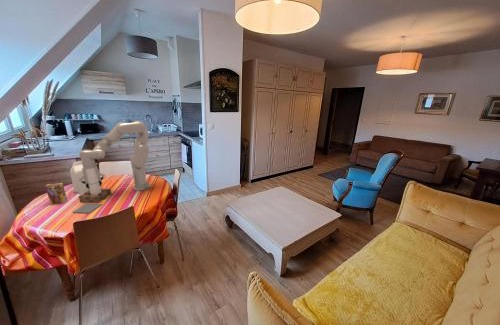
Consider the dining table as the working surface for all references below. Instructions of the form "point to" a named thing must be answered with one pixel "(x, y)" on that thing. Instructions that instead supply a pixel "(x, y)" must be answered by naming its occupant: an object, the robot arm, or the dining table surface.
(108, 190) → the collar
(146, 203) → the dining table surface
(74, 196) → the dining table surface
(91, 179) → the cylindrical container
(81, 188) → the milk
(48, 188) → the candy box
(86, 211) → the mat
